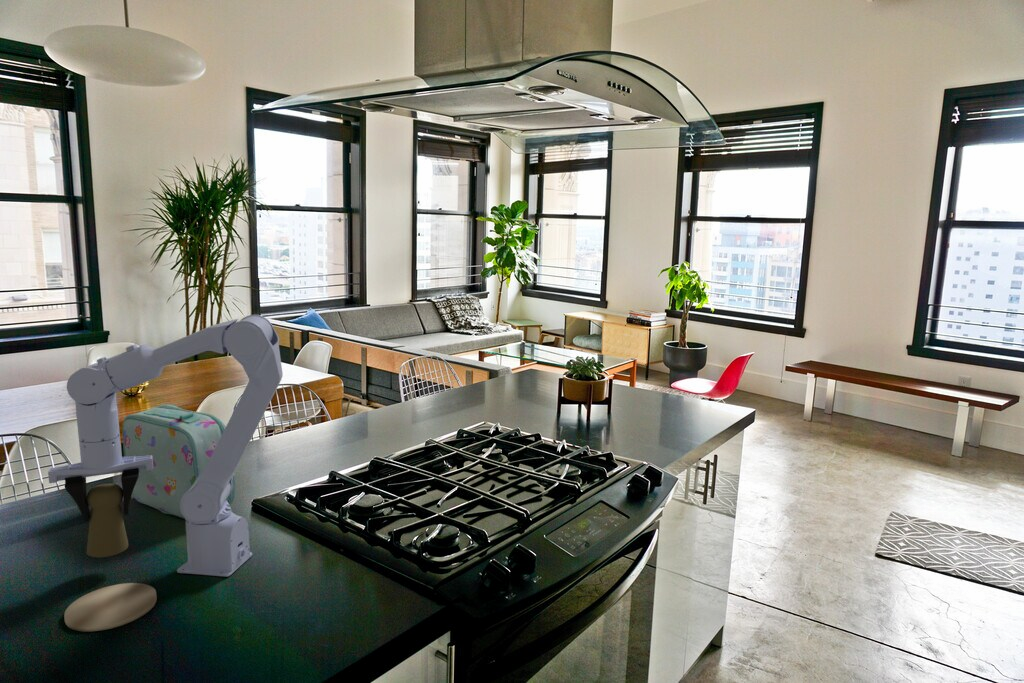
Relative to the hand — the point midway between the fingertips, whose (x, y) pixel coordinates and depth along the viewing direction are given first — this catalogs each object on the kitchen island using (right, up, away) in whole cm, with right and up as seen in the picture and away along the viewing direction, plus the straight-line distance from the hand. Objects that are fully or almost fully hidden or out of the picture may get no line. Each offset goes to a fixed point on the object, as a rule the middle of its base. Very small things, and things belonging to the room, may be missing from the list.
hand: (107, 516), depth 110 cm
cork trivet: (+7, -12, -9) cm, 16 cm away
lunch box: (-2, -6, +29) cm, 29 cm away
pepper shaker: (0, -6, +1) cm, 6 cm away
